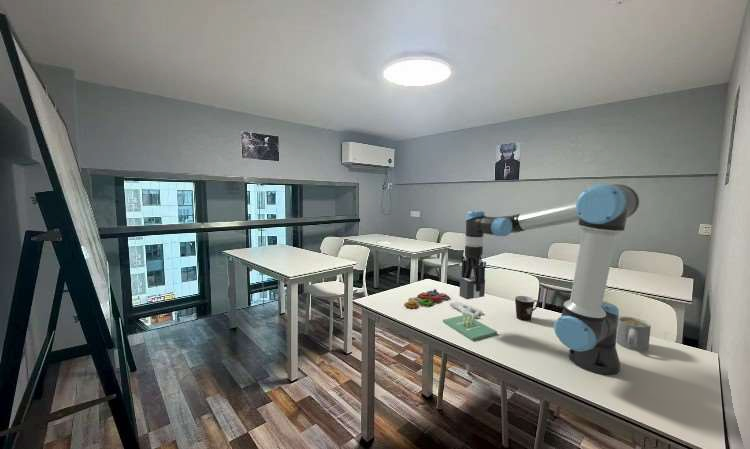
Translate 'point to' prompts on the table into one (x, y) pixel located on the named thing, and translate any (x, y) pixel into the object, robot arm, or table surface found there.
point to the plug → (470, 288)
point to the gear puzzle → (426, 299)
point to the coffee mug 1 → (524, 307)
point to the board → (469, 327)
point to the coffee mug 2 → (633, 333)
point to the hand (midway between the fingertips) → (471, 295)
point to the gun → (466, 309)
